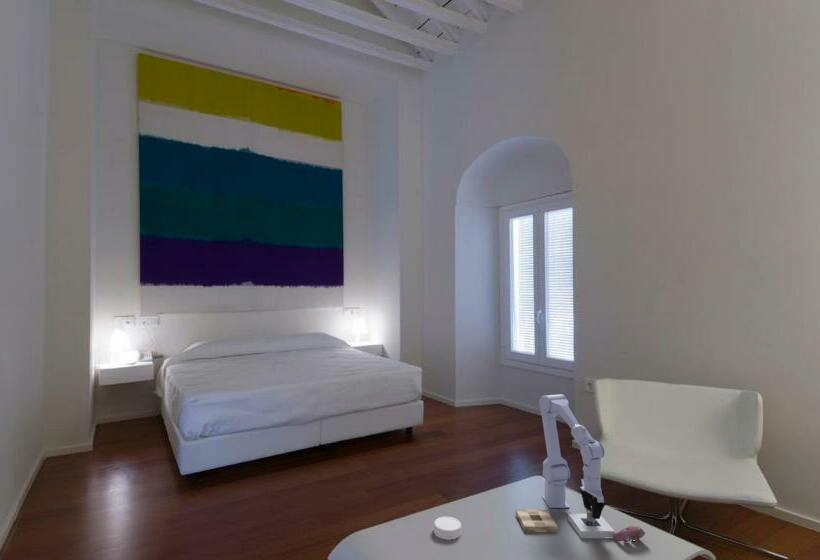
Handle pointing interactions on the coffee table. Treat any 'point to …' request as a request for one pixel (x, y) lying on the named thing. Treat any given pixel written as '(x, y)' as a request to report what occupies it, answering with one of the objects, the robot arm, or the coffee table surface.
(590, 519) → the lock pin
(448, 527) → the white round disc
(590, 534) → the dock
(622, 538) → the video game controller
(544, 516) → the pin mount
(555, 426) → the robot arm
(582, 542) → the coffee table surface
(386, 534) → the coffee table surface
